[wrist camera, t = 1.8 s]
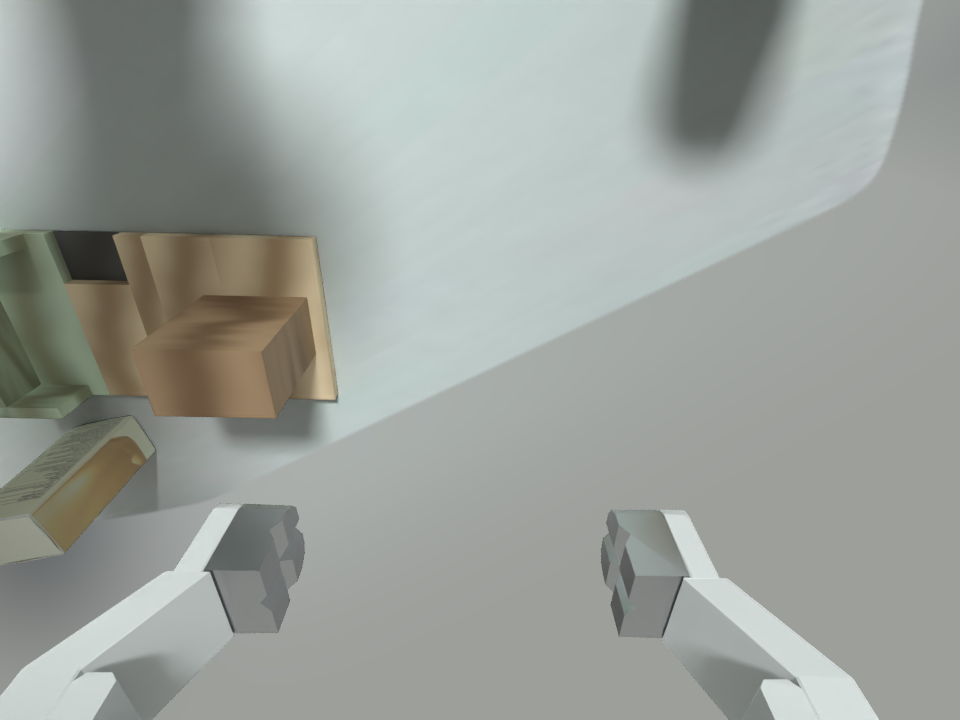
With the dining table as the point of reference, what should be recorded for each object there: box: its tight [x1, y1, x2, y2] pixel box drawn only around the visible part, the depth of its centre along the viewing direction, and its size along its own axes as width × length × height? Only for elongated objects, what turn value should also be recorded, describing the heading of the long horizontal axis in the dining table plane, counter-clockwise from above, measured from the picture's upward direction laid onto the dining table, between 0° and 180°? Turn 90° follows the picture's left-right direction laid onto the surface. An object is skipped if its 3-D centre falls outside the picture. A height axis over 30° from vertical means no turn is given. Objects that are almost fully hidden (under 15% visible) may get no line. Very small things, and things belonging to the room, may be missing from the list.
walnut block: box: [130, 295, 316, 418], centre depth 35 cm, size 8×5×9 cm, turn 89°
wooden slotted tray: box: [0, 229, 338, 419], centre depth 38 cm, size 26×14×4 cm, turn 89°
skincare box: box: [0, 416, 155, 566], centre depth 40 cm, size 6×4×12 cm
